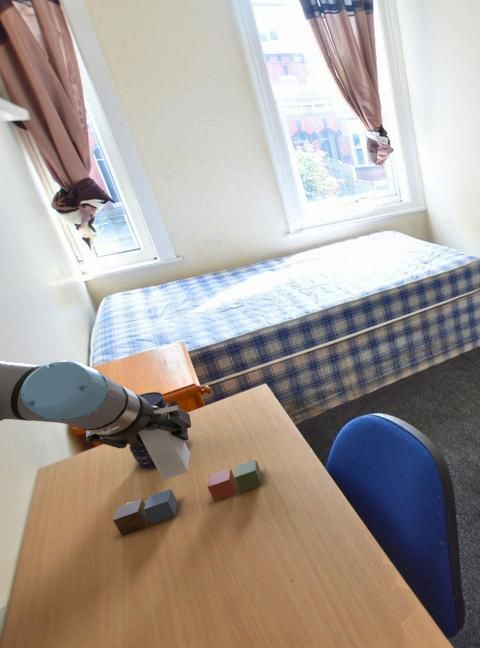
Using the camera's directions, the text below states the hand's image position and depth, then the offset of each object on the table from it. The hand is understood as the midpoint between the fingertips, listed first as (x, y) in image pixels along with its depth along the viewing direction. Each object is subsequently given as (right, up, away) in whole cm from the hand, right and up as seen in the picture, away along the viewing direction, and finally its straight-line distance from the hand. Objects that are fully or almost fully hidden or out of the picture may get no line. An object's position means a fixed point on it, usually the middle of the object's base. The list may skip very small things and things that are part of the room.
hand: (171, 438), depth 95 cm
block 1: (-6, -17, -1) cm, 18 cm away
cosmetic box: (+2, -6, -1) cm, 6 cm away
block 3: (+8, -13, +5) cm, 16 cm away
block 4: (+12, -12, +7) cm, 18 cm away
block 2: (-2, -16, +1) cm, 16 cm away
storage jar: (-16, -10, +19) cm, 26 cm away
